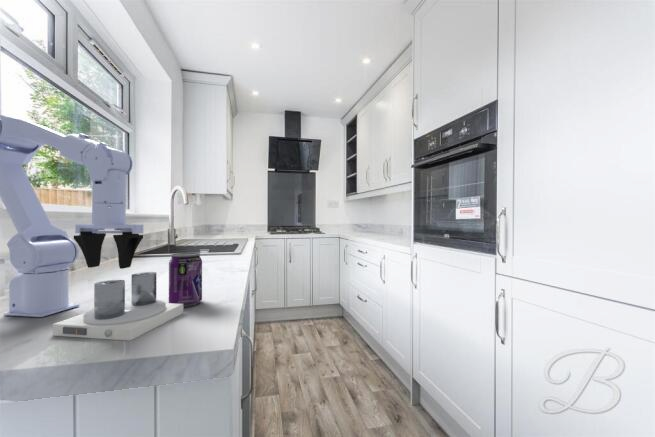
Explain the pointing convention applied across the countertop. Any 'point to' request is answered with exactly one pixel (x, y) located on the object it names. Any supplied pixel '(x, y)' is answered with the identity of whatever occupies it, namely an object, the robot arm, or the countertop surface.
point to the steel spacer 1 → (109, 299)
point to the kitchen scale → (119, 322)
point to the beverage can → (185, 279)
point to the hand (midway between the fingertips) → (109, 267)
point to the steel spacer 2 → (143, 288)
